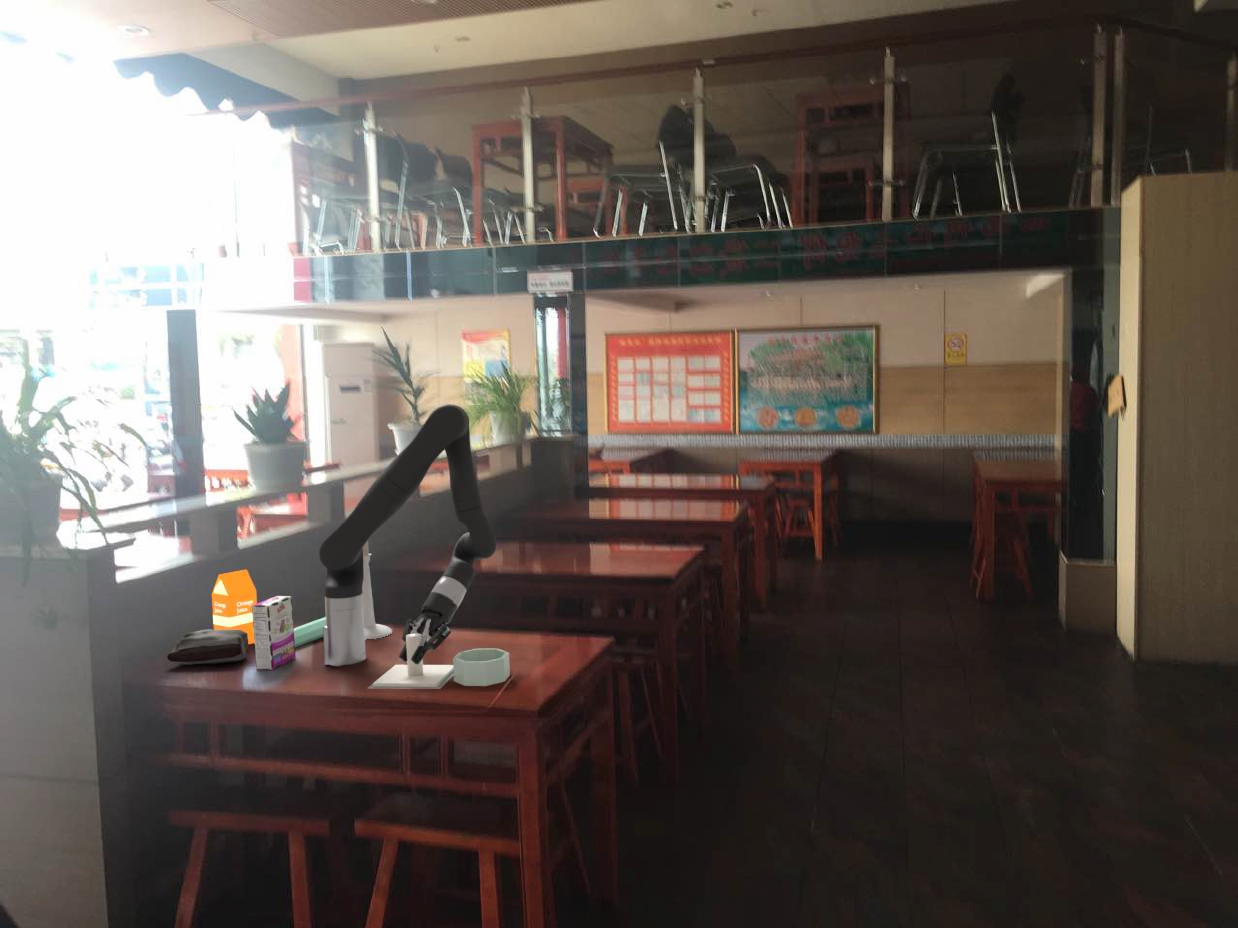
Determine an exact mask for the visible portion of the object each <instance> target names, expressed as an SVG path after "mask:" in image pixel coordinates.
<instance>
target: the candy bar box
mask: <svg viewBox="0 0 1238 928" xmlns="http://www.w3.org/2000/svg"><path fill="white" fill-rule="evenodd" d="M292 601H293V600H292V596H290V595H276V596H273V597H270V598H267V599H265V600H263V601H261V602H257V604H255V605H253V606H252V616H253V629H254V643H253V644H254V654H255V655H254V656H255V669H256V670H259V671H270V670H271V671H274V670H275V669H278V668H279V667H282V666H283V665H285V664H287V663H289V662H291V661H292V660H295V659H296V658H297V656H296V647H295V641H294V628H295V627H294V616H293V615H294V614H293V602H292Z"/></svg>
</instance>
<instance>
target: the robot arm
mask: <svg viewBox="0 0 1238 928" xmlns="http://www.w3.org/2000/svg"><path fill="white" fill-rule="evenodd" d="M470 432H471V431H470V418H469V415H468V413H467V411H466V409H464V408H463V407H461V406H459V405H456V404H450V403H449V404H448V403H445V404H441V405H438V406H437V407H436V408H434V409H433V411H431V413H430V414H429V415H428V417H427V419H426V420H425V422H424V423H423V425H421V428H420V429H419V431H418V432H417V433H416V435H415V437H414V438H413V439H412V440H411V442H409V443H408V445H407V446H406V447H404V449H403V450H402V451H400V452H399V453H398V455H396V456H395V458H394V459H393V460H392V461H391V462H390V463H389V464H388V465H387V466H386V468H384V470H383V471H382V472H381V473H380V474H379V475H378V477H377V478H376V479H375V480H374V481H373V483H372V484H371V485H370V486H369V488H368V490H366V492H365V493H364V495H362V497H361V499H360V500H359V501H358V503H357V504H356V506H355V507H354V509H353V510H352V511H351V513H350V514H349V515H348V516H347V517H346V518H345V520H343V522H342V523H340V524H339V526H337V528H335V529H334V530H333V531H332V532H331V533H330V534H329V535H328V536H326V537H325V538H324V539H323V541H322V542H321V544H320V546H319V551H318V553H319V554H318V556H319V560H320V562H321V564H322V566H324V567H325V568H326V579H325V584H324V588H323V589H324V592H323V593H324V594H323V595H324V604H325V605H324V607H325V617H326V626H325V627H324V628H323V636H324V637H323V653H324V654H323V655H324V665H325V666H327V665H329V666H332V667H341V666H344V665H345V666H346V665H354V664H357V663H358V664H359V663H361V662H363V661H365V660H366V659H367V658H366V654H367V652H366V640H365V633H364V613H363V594H362V585H363V579H364V567H363V546H364V545H365V543H366V542H367V540H368V541H369V539H370V538H371V537H372V535H373V534H374V533H375V532H376V531H377V530H378V529H379V528H380V527H382V526H383V525H384V524H385V523H387V522H388V521H389V520H390V519H391V518H392V517H393V516H394V515H395V514H396V513H397V512H399V510H400V509H401V508H402V507H403V506H404V505H405V504H406V502H407V501H409V499H410V498H411V497H412V496H413V494H414V493H415V492H416V490H418V487H419V486H420V485H421V483H422V482H423V480H424V479H425V477H426V475H427V473H428V471H429V470H430V468H431V466H432V465H433V463H434V462H435V460H436V459H437V458H438V457H439V456H440V455H441V453H443V451H444V452H445V455H446V459H447V460H446V461H447V464H448V472H449V485H450V486H449V487H450V494H451V500H452V503H453V504H452V505H453V508H454V513H455V517H456V520H457V522H459V524H462V525H464V526H465V527H466V529H467V531H468V532H466V533H464V534H462V535H461V536H460V537H459V539H458V540H457V542H456V543H455V546H454V548H453V552H452V555H451V557H450V561H449V564H448V565H447V567H446V569H445V570H444V572H443V574H442V575H441V577H440V578H439V580H438V581H437V582H436V583H435V585H434V587H433V588H432V590H431V591H430V593H429V594H428V597H427V599H426V600H425V602H423V605H422V607H421V614H420V615H419V616H418V617H417V618H416V619H414V620H413V619H412V618H408V619H406V623H405V626H404V630H403V633H402V637H401V639H402V641H403V642H404V643H405V644H404V645H403V647H402V650H401V651H400V653H399V655H398V656H399V659H400V660H401V661H402V662H406V663H407V648H406V635H408V634H414V633H418V634H422V641H421V643H420V646H418V648H417V649H416V651H415V653H414V655H413V656H412V658H411V661H413V662H414V663H415V664H419V662H420V661H421V660H422V658H423V659H424V656H425V655H426V654H427V652H429V651H430V650H432V651H434V650H437V649H438V647H439V646H440V645H441V644H442V643H443V642H444V641H445V640H446V639H447V638H448V637H449V636H450V635H451V633H452V631H451V629H450V628H449V627H448V626H447V624H449V623H450V622H451V621H452V619H453V617H454V615H455V613H456V611H457V610H458V608H459V606H460V605H461V603H462V602H463V600H464V598H465V595H466V593H467V591H468V589H469V587H470V586H471V583H473V580H474V579H475V576H476V570H475V567H474V566H473V565H474V564H475V562H476V560H484V559H488V558H491V557H492V556H493V555H494V554H495V552H496V550H497V549H496V548H497V538H496V535H495V532H494V530H493V527H492V526H491V524H490V521H489V519H488V516H487V515H486V514H485V512H484V507H483V506H484V505H483V502H482V497H481V491H480V489H479V484H478V480H477V476H476V472H475V467H474V463H473V456H472V449H471V448H472V446H471V437H470V436H471V434H470Z"/></svg>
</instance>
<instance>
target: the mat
mask: <svg viewBox="0 0 1238 928" xmlns="http://www.w3.org/2000/svg"><path fill="white" fill-rule="evenodd" d="M452 677H454V670H453V671H452V672H451V673H450V674H449V675H448V676H447V677H446V679H445V680H444V681H443V682H442V683H441V684H440V685H439V686H438V687H373V683H372V684H371V685H370V686H368V687H367V689H369V690H370V689H371V690H372V689H373V690H374V689H381V690H382V689H387V690H390V689H393V690H394V689H396V690H397V689H398V690H406V689H407V690H441V688H443V687H444V686H445V685H446V684H447V683H448V682H449V681H450V680H451V678H452Z"/></svg>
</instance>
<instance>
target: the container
mask: <svg viewBox="0 0 1238 928" xmlns="http://www.w3.org/2000/svg"><path fill="white" fill-rule="evenodd" d="M325 626H326V616H324V617H321V618H320V619H319V618H318V619H315V620H313V621H310V622H307V623H305V624H302V625H300V626H296V627H294V641H295V648H297V647H300V646H303V645H305V644H308V643H310V642H313V641H316V640H319V639H321V638H324V636H323V628H324V627H325Z"/></svg>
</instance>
